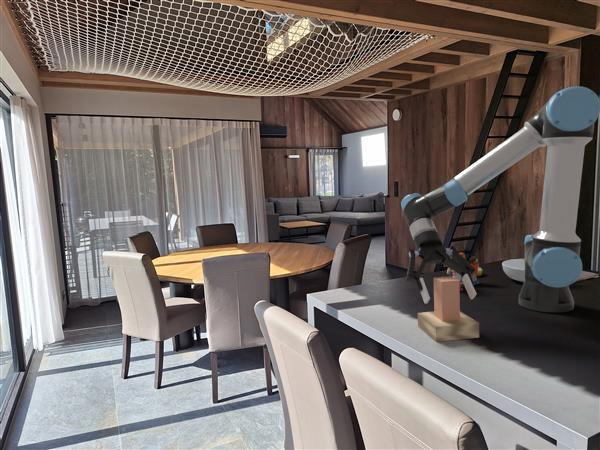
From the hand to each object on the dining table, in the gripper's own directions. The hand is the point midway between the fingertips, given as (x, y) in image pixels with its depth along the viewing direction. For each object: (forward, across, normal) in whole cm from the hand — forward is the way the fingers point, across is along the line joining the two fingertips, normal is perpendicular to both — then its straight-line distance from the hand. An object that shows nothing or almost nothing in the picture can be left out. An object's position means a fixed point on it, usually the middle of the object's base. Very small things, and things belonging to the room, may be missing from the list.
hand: (450, 299), depth 109 cm
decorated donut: (-36, -39, -51) cm, 73 cm away
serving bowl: (-23, -55, -38) cm, 71 cm away
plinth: (+5, 0, -9) cm, 10 cm away
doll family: (-25, -26, -40) cm, 54 cm away
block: (+3, 0, -6) cm, 7 cm away
